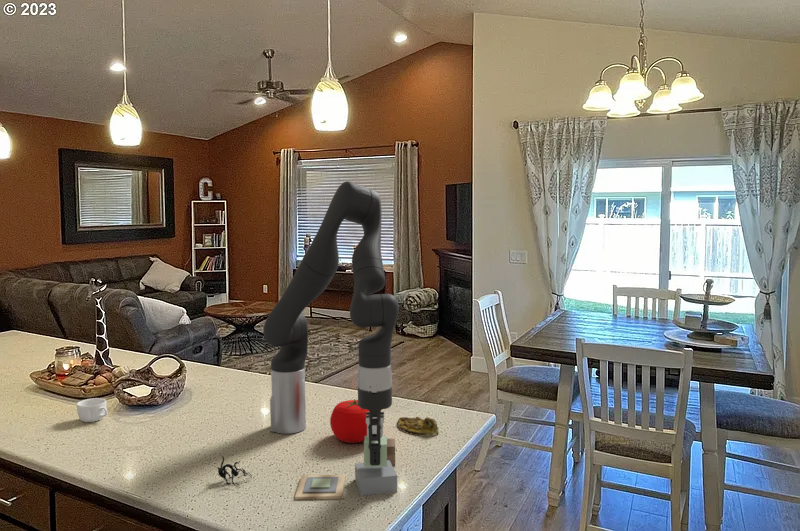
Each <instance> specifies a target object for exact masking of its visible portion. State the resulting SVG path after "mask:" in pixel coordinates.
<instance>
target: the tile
mask: <svg viewBox="0 0 800 531" xmlns="http://www.w3.org/2000/svg"><path fill="white" fill-rule="evenodd" d="M345 482H346V474H324V475H322V474H318V475H316V474H314V475H313V474H312V475H310V474H309V475H301V477H300V479H299V483H298V485H297V488H296V492H295V495H294V500H343V497H344V495H343V494H344V489H345Z"/></svg>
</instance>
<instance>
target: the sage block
mask: <svg viewBox="0 0 800 531" xmlns="http://www.w3.org/2000/svg"><path fill="white" fill-rule="evenodd" d="M387 439H388V435H383V436H382V437H381V449H380V465H370V450H369V448H368V445H369V438H368V437H367V436H365V439H364V441H363V463H364V467H387ZM372 443H378V441H372Z"/></svg>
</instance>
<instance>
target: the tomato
mask: <svg viewBox="0 0 800 531" xmlns="http://www.w3.org/2000/svg"><path fill="white" fill-rule="evenodd" d="M366 412H370V411H369V410H367V409H362V408H360V407H359V405H358V399H355V398H354V399H350V400H344V401H340V402H339V403H337V404H336V405H335V406H334V408H333V409H332V412H331V415H330V418H329V422H330V429H331V431H332V432H333V434H334V436H335V438H337V439H338V440H339V441H341V442H344V443H350V444H352V443H353V444H355V443H362V442H363V443H364V439H365V436H367V424H366Z"/></svg>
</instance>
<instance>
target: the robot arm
mask: <svg viewBox="0 0 800 531" xmlns="http://www.w3.org/2000/svg"><path fill="white" fill-rule="evenodd" d="M344 220H346V221H348V222H351V223H355V224H358V225H361V226H362V230H363V236H362V238H361V240H360V241H359V242H358V244H357V245H356V247H355V248H354V251H353V253H352V257H351V266H352V275H353V284H354V285H353V295H352V299H351V302H350V307H349V317H350V318H349V319H350V320H351V322H352V324H354V325H355V326H356V327H357V328H371V327H372V328H374V327H375V328H376V327H377V328H378V327H379V330H378V332H376V333H375V334H372V335H369V336H365V337H363V338H361V339H359V342H358V369H357V370H358V371H357V400H358V405H359V407H360V408H362V409H367V410H369V411H370V412H366V424H367V437H368V438H369V445H368V448H369V450H370V465H380V449H381V437H382V436H384V423H385V411H382V410H386V409H389V408H390V407H392V405H393V373H392V365H391V364H392V362H391V361H392V357H391V356H392V355H391V354H392V353H391V351H392V350H391V348H392V342H393V341H392V340H393V335H394V331H395V327H396V324H397V321H398V318H399V313H400V305H399V302H398V300H397V298H396V297H395V296H394V295H393V294H391V293H377V292H380V291H381V290H382V289H384V287H385V286H386V275H385V270H384V264H383V258H382V249H381V248H382V245H381V242H382V241H381V240H382V199H381V197H380V194H379V193H378V192H377V191H375V189H374V190H373V189H371V188H368V187H366V186H363V185H360V184H358V183H355V182H353V181H348V180H347V181H343V182H342V183H341V184H340V185H339V187H338V188H337V189H336V191H335V192H334V194H333V196H332V199H331V201H330V203H329V206H328V208H327V210H326V212H325V214H324V217H323V219H322V221H321V224H320V226H319V228H318V231H317V232H316V234H315V236H314V238H313V240H312V242H311V244H310V245H309V247H308V249H307V250H306V252H305V253H304V256H303V257H302V259H301V261H300V262H299V265H298V266H297V269H296V271H295V273H294V275H293V276H292V278H291V280H290V281H289V283H288V285H287V287H286V289H285V291H284V292H283V294H282V296H281V297H280V299H279V301H278V302H277V303H276V305H275V306H274V307H273V308H272V310H271V311H270V313H269V314H268V316H267V318H266V319H265V322H264V325H263V337H264V340H265V342H266V343H267V344H268V345H269V346H271V347H277V348H278V347H281V348H280V350H279V351H278V352H277V353H276V354H275V355H274V356H273V357H272V359H271V361H270V369H271V371H270V372H271V373H270V374H271V375H270V376H271V396H270V398H269V402H270V403H269V406H270V409H269V410H270V412H269V413H270V432H271V433H278V434H282V435H284V434H285V435H287V434H290V435H291V434H296V433H299V432H302V431H304V430H305V429H306V427H307V422H306V421H307V418H306V413H307V412H306V409H307V408H306V368H305V367H306V366H305V363H306V361H307V358H308V347H309V346H308V344H309V342H308V341H309V326H308V325H309V324H308V322H307V318H306V316H305V315H304V313H303V311H304V310H305V309H306V308H307V307H308V306H309V305H310V304H311V303H312V302H314V301H315V300H316V299H317V298H318V297H319V296H320V295H322V293H324V292H325V290H326V289H327V288H328V286H329V285H330V283H331V282H332V280H333V278H334V276H335V274H336V273H337V270H338V269H339V263H340V258H339V249H338V240H337V237H338V232H339V229H340V227H341V225H342V222H344ZM372 441H378V443H372Z"/></svg>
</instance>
